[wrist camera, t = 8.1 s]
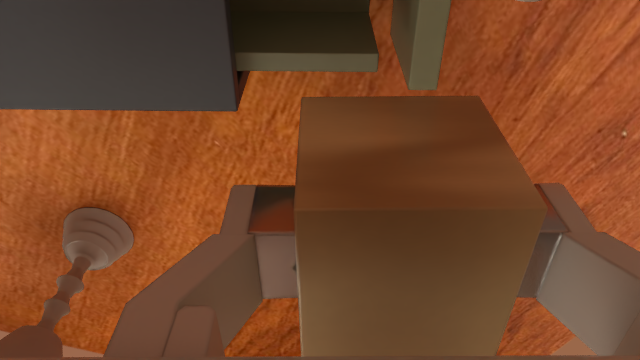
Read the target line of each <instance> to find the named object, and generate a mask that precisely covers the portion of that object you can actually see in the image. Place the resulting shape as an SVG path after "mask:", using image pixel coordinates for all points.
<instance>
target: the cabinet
mask: <svg viewBox="0 0 640 360" xmlns="http://www.w3.org/2000/svg"><path fill="white" fill-rule="evenodd" d="M249 73H250V71H237V69H236V60H235V50H234V41H233V31H232V22H231V12H230V3H229V0H0V109H40V110H145V111H237V110H238V107H239V104H240V100H241V97H242V94H243V91H244V88H245V85H246V82H247V79H248V76H249Z"/></svg>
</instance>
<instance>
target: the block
mask: <svg viewBox="0 0 640 360" xmlns="http://www.w3.org/2000/svg"><path fill="white" fill-rule="evenodd" d="M547 210H548V207H547V205H546V204H545V202H544V200H543V199H542V197H541V195H540V194H539V192H538V191H537V189H536V187H535V186H534V184H533V183H532V181H531V179H530V178H529V176H528V174H527V173H526V171H525V170H524V168H523V166H522V165H521V163H520V162H519V160H518V158H517V157H516V155H515V153H514V152H513V150H512V149H511V147H510V145H509V144H508V142H507V141H506V139H505V137H504V136H503V134H502V132H501V131H500V129H499V128H498V126H497V124H496V123H495V121H494V120H493V118H492V116H491V115H490V113H489V111H488V110H487V108H486V107H485V105H484V103H483V102H482V100H481V99H480V97H479V96H387V97H303V98H302V99H301V111H300V126H299V140H298V154H297V168H296V182H295V197H294V228H295V247H296V265H297V284H298V303H299V322H300V341H301V356H302V357H316V356H496V353H497V351H498V348H499V345H500V342H501V339H502V337H503V334H504V331H505V328H506V325H507V322H508V320H509V317H510V314H511V311H512V308H513V306H514V303H515V300H516V297H517V294H518V292H519V289H520V286H521V283H522V280H523V278H524V275H525V272H526V269H527V266H528V264H529V261H530V258H531V255H532V252H533V250H534V247H535V244H536V241H537V238H538V236H539V233H540V230H541V227H542V224H543V221H544V219H545V216H546V213H547Z"/></svg>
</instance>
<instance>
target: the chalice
mask: <svg viewBox="0 0 640 360" xmlns="http://www.w3.org/2000/svg"><path fill="white" fill-rule="evenodd" d="M63 229H64V231H63V243H62V247H63V250H64V253H65V255H66V257H67V259H68V260H69V261H70V262H71V263H73V265H72V269H71V270H70V271H69V272H68V273H67V274H66V275H62V276H60V277H58V278H57V281H56V282H57V285H58V287H59V288H58V292H57V294H56V295H55V296H53V297H52V298H51V299H48V300H46V301H45V302H44V308H45V310H44V314H43V317H42V320H41V321H40V322H39V323H38V325H37V326H29V325H27V326H22V327H20V328H18V329H16V330H15V331H13V332H12V333H10V334H9V335H7V336H6V337H4V338H3V339H1V340H0V358H54V357H62V356H63V355H62V342H61V339H60V338H59V337H58V336H57V335H56V334H55V333H54V332H53V330H54V327H55V325H56V323H57V322H58V321H59V320H60V319H61V318H62V316H64V315H66V314H68V313H69V312H70V307H69V301H70V298H71V297H72V296H73V295H74V294H75V293H79V292H81V291H82V290H83V289H84V285H83V282H82V278H83V274H84V273H85V272H86V271H87V270H99V269H103V268H106V267H108V266H110V265H112V263H113V262H114V261H116V260H118V259H119V258H120V257H121V256H122V255H124V254H126V253H128V251H129V250H130V249H131V248H132V245H133V241H134V238H133V234H132V231H131V229H130V228H129V226H128V225H127V224H126V223H125V222H124V221H123V220H122V219H121V218H120V217H118V216H116V215H114V214H113V213H111V212H109V211H105V210H102V209H98V208H81V209H77V210H75V211H73V212H71V213H70V214H68V216H67V217H66V219H65V220H64V227H63Z"/></svg>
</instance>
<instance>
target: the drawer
mask: <svg viewBox="0 0 640 360" xmlns="http://www.w3.org/2000/svg"><path fill="white" fill-rule="evenodd" d="M517 1H524V2H536V1H540V0H517ZM229 3H230V12H231V22H232V31H233V41H234V50H235V60H236V69H237V71H329V72H377V71H378V58H379V53H378V49H377V45H376V41H375V36H374V32H373V28H372V24H371V20H370V16H369V3H370V0H229ZM450 5H451V0H394V1H393V11H392V22H391V32H390V34H391V37H392V40H393V44H394V47H395V50H396V53H397V56H398V59H399V62H400V65H401V68H402V71H403V74H404V77H405V81H406V84H407V87H408V89H409V90H436V89H437V85H438V79H439V72H440V66H441V60H442V54H443V48H444V42H445V36H446V30H447V24H448V18H449V11H450Z"/></svg>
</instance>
